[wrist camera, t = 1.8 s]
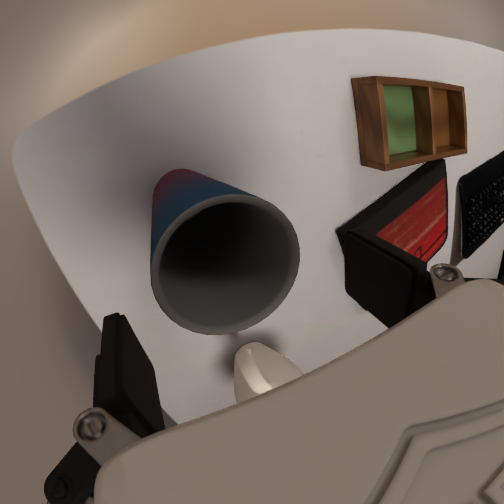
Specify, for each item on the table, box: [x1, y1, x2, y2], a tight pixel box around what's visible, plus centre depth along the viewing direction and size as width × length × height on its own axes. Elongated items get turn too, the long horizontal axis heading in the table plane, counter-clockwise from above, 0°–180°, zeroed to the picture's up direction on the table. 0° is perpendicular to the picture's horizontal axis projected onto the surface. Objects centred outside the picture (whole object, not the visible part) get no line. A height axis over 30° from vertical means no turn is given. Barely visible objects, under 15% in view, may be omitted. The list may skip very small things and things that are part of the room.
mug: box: [234, 342, 304, 403], centre depth 30 cm, size 12×8×11 cm
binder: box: [336, 158, 448, 311], centre depth 37 cm, size 16×2×21 cm
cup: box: [150, 169, 300, 335], centre depth 19 cm, size 7×7×15 cm
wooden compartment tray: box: [351, 76, 467, 171], centre depth 29 cm, size 10×20×4 cm, turn 101°
